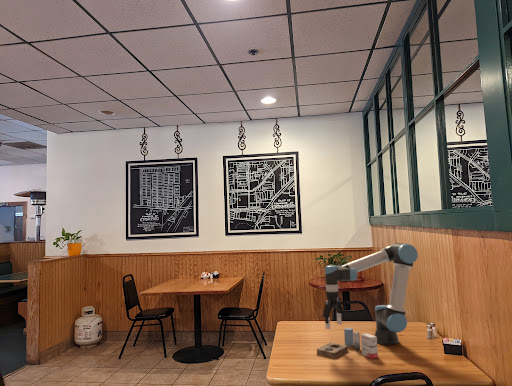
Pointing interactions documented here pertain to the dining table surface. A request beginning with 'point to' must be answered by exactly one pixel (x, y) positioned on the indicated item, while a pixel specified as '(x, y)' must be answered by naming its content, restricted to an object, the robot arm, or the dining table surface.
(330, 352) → the socket block
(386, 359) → the dining table surface
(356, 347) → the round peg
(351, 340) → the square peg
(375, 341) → the ink box
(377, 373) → the dining table surface
